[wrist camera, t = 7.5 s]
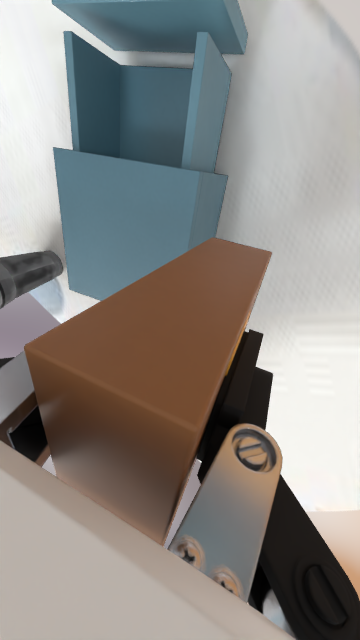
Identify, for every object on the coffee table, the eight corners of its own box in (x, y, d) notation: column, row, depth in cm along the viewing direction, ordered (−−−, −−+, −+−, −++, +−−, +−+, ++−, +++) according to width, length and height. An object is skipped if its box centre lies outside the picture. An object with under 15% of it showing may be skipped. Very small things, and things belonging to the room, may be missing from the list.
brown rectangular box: (273, 252, 13) (201, 433, 3) (242, 339, 16) (159, 561, 7) (210, 236, 14) (18, 344, 4) (193, 322, 17) (58, 493, 8)
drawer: (113, -41, 21) (38, -136, 15) (265, -55, 18) (250, -184, 12) (114, 187, 31) (68, 188, 25) (214, 208, 28) (190, 214, 21)
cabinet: (114, 156, 30) (52, 147, 22) (228, 175, 26) (200, 171, 19) (115, 268, 38) (69, 289, 30) (203, 295, 34) (175, 327, 26)
